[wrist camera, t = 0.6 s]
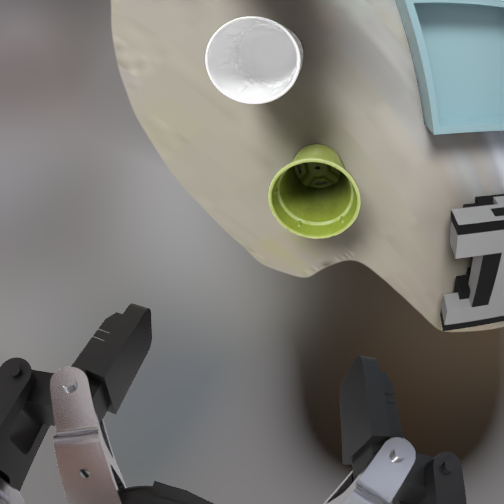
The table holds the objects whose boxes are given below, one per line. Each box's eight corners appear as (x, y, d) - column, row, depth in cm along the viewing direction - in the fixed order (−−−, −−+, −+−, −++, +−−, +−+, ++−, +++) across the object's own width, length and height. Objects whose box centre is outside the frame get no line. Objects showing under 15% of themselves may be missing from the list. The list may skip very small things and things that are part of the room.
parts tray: (395, -1, 20) (403, -5, 17) (506, 4, 14) (523, 4, 11) (424, 123, 29) (434, 134, 26) (523, 119, 23) (539, 130, 20)
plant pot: (348, 124, 32) (352, 152, 26) (361, 193, 37) (365, 234, 31) (272, 138, 35) (256, 168, 29) (292, 202, 41) (281, 243, 35)
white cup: (256, 94, 32) (231, 117, 25) (226, 37, 28) (189, 42, 21) (320, 71, 28) (316, 85, 21) (290, 10, 24) (274, 1, 17)
